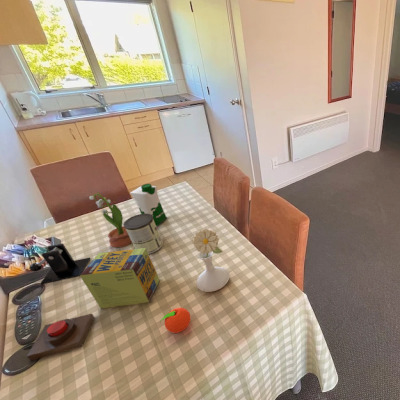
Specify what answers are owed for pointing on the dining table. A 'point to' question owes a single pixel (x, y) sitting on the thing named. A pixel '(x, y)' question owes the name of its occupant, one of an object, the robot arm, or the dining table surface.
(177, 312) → the clementine
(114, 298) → the protein box
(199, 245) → the flower in vase
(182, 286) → the dining table surface
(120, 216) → the potted flower
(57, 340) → the button block
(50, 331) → the button
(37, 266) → the toast lever
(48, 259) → the bracket
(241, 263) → the dining table surface
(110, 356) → the dining table surface
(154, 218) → the milk carton
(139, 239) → the coffee can
